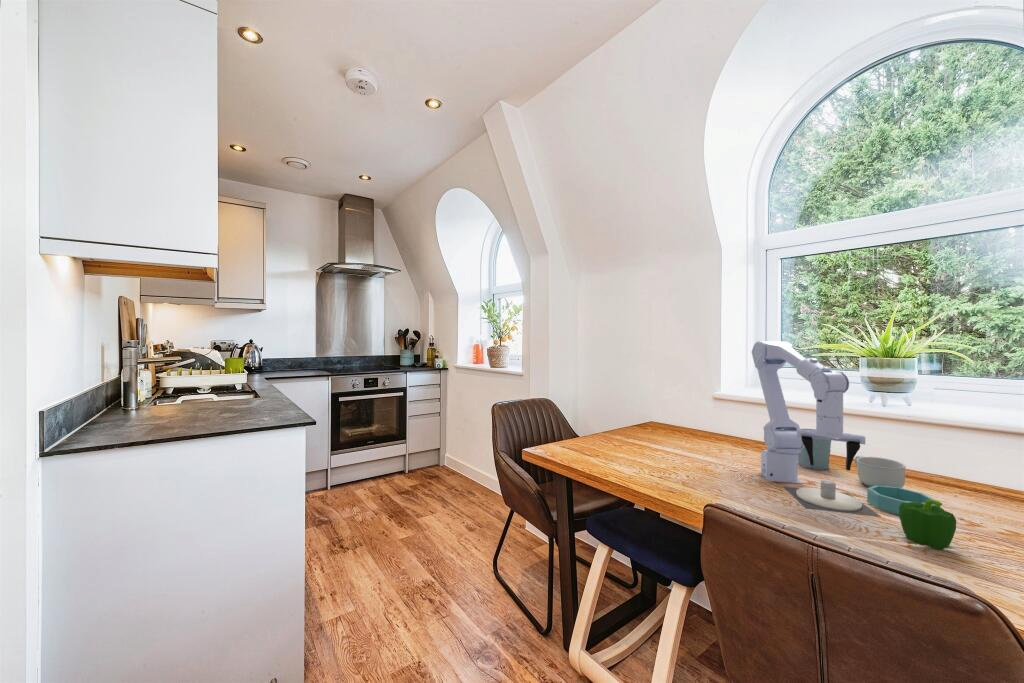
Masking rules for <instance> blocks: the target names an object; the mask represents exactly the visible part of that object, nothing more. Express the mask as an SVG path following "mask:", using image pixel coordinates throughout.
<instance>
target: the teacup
mask: <svg viewBox="0 0 1024 683" xmlns="http://www.w3.org/2000/svg"><path fill="white" fill-rule="evenodd" d="M854 464H855V466H856V468H857V476H858V479H859V480H860V482H861V483H863V484H864V485H866V486H867V487H868V488H869V487H872V486H875V485H879V486H890V487H899V488H903V487H904V486H905V483H906V468H907V467H906V466H907V465H906V464H905V463H903V462H901V461H898V460H895V459H890V458H886V457H885V458H884V457H877V456H876V457H875V456H863V455H857V456H856V455H855V457H854Z"/></svg>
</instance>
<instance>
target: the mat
mask: <svg viewBox="0 0 1024 683" xmlns="http://www.w3.org/2000/svg"><path fill="white" fill-rule="evenodd" d="M783 488H784V489H785V491H787V492H788V493H789V494H790V495H791V496H792V497H793V498H794V499H795V500H796V501H798V503H799V504H800V505H802V507H804V509H807V510H817V511H825V512H835V513H843V514H852V515H860V516H861V515H862V516H871V517H881V518H882V516H881V515H880V514H878V513H877V512H876V511H874V510H873V509H872V508H870V507H869V506H867V505H866V504H864V503H863V502H861V503H862V509H860V510H858V511H840V510H833V509H828V508H823V507H819V506H816V505H813V504H810V503H808V502H805V501H803V500H801V499H800V498H798V497H797V495H796V491H797V489H800V488H801V487H790V486H783ZM838 492H839V493H843V494H846V495H849V496H851V497H854V496H853V495H852V494H850V493H848V492H842V491H841V492H840V491H838Z"/></svg>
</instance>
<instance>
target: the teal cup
mask: <svg viewBox="0 0 1024 683" xmlns="http://www.w3.org/2000/svg"><path fill="white" fill-rule="evenodd" d="M802 429H803V430H816V429H814V428H802ZM821 437H822V436H821ZM826 438H827V437H826ZM812 439H813V461H814V466H813V465H810V459H809V455H808V453H807V450H806V448H805V446H804V448H803V449H802V450H801V453H798V466H801V467H803V466H804V467H803V468H807V467H808V469H811V468H813V469H812V470H818V469H822V470H824V469H827V470H829V468H830V457H831V448H832V447H831V446H832V440H825V439H816V438H812ZM822 470H821V471H822Z"/></svg>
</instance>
